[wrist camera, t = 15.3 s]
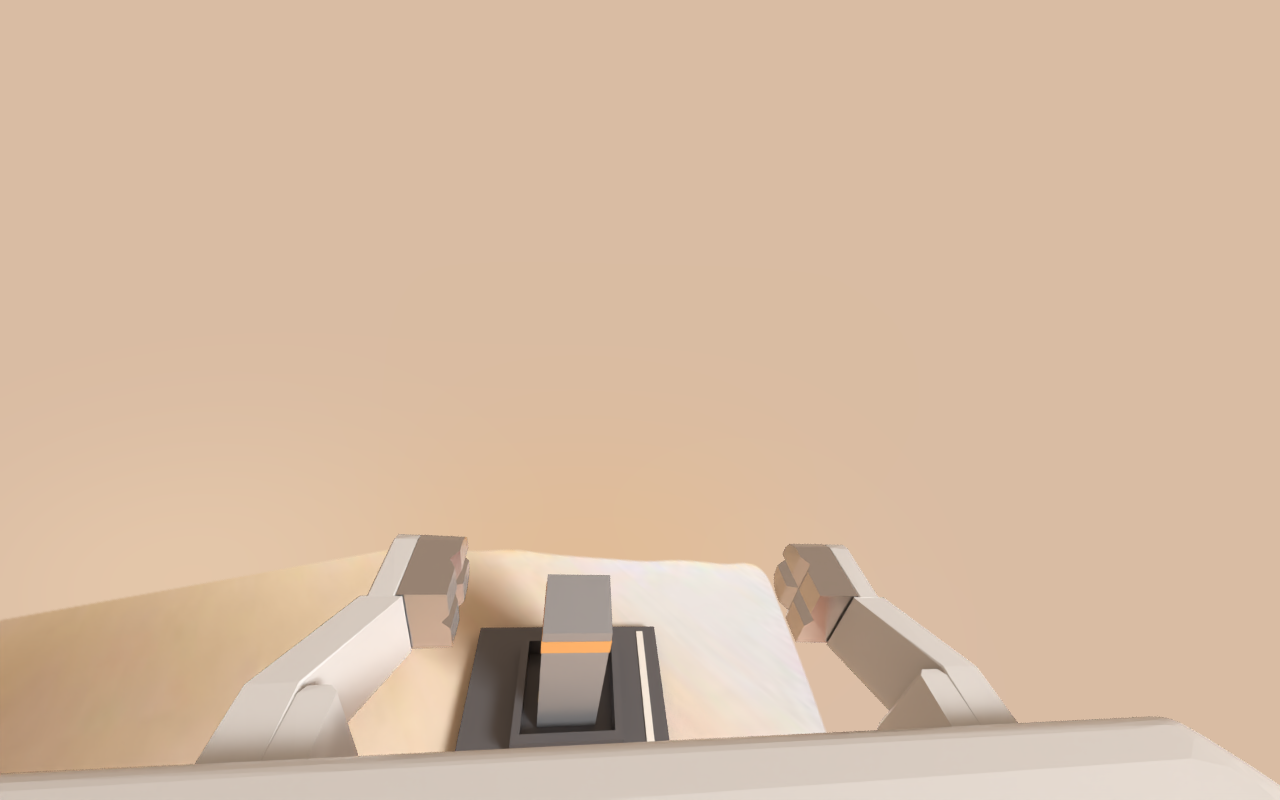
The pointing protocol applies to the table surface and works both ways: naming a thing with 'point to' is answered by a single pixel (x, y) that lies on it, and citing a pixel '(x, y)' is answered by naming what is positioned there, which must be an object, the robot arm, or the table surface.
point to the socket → (511, 693)
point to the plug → (574, 649)
